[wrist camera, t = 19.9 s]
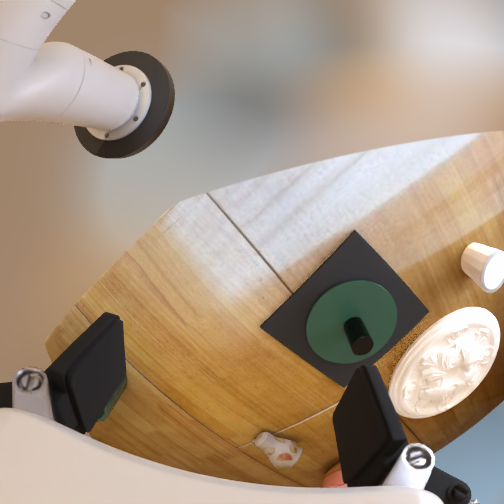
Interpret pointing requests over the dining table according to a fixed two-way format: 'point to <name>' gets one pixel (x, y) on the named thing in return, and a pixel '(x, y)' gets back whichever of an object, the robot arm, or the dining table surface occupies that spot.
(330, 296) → the lid
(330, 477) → the vase
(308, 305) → the mat
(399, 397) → the ceiling medallion
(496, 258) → the white lidded cup
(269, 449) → the mug
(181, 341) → the dining table surface
